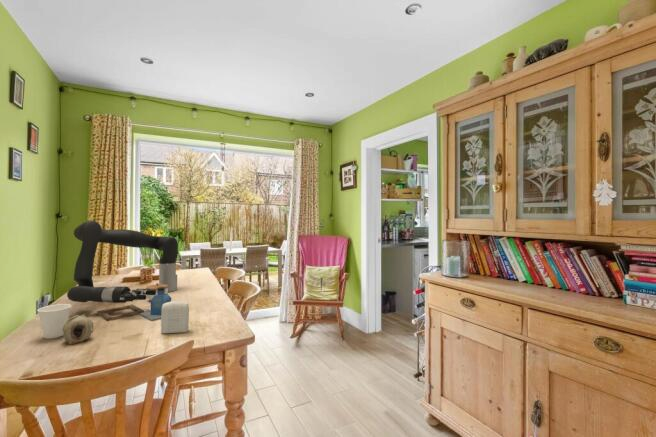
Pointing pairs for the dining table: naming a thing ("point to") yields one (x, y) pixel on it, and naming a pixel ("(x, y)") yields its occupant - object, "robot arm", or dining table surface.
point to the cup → (53, 319)
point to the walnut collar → (107, 317)
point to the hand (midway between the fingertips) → (150, 294)
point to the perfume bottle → (159, 301)
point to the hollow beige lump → (77, 329)
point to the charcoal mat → (150, 316)
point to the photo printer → (174, 317)
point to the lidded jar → (154, 287)
